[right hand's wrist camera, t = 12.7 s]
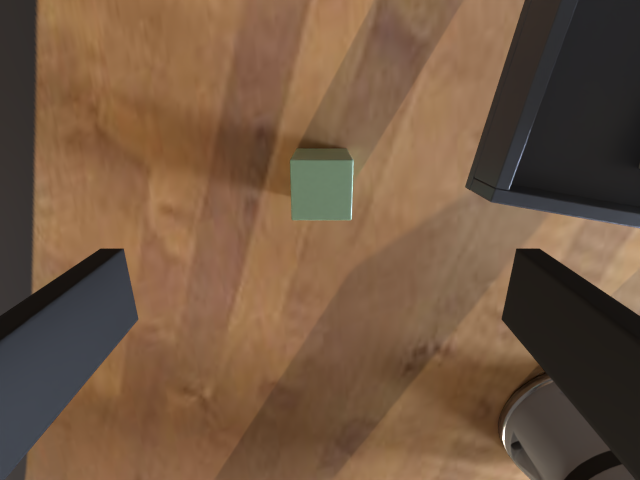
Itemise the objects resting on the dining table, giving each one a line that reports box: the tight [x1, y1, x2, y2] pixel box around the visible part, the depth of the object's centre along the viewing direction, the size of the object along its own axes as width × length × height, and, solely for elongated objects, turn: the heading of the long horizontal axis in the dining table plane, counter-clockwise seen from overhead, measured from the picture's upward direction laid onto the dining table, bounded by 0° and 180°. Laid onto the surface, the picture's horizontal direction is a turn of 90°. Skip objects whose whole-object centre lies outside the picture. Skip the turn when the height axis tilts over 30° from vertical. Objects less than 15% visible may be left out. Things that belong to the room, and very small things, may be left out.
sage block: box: [290, 148, 353, 220], centre depth 30 cm, size 4×4×7 cm
